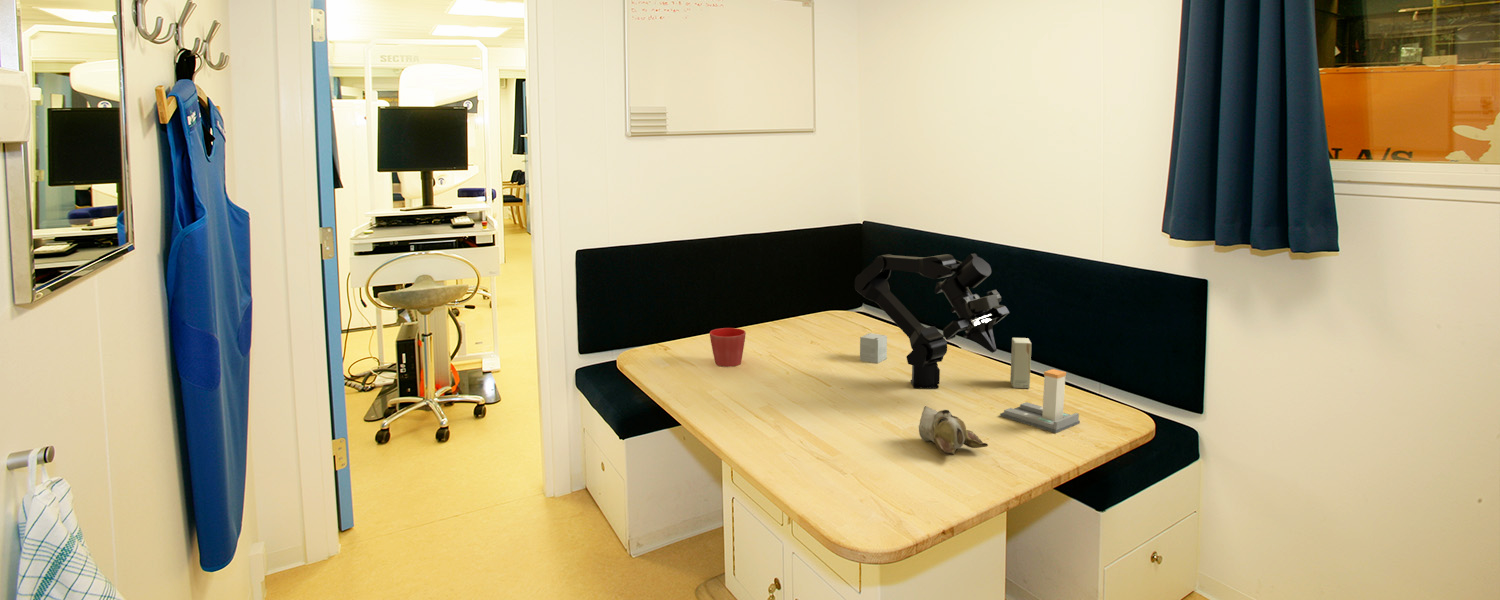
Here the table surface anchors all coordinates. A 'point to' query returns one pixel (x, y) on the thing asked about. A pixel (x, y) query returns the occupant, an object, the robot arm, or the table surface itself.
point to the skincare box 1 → (873, 348)
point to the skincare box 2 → (1020, 362)
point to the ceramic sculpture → (946, 431)
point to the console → (1040, 418)
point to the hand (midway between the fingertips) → (994, 351)
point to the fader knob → (1053, 394)
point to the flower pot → (727, 346)
